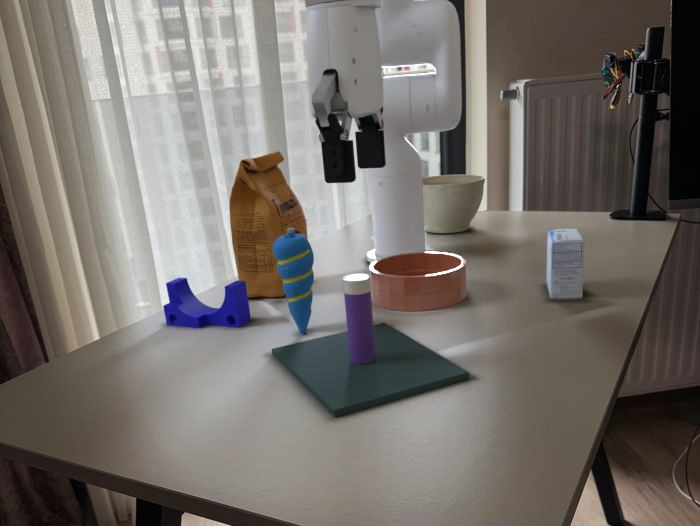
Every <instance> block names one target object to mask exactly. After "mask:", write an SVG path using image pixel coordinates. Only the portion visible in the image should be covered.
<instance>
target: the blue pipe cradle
mask: <svg viewBox="0 0 700 526" xmlns="http://www.w3.org/2000/svg"><path fill="white" fill-rule="evenodd" d="M165 286H166V291H167V296H168V300H169V302H168V303H166V304H164V305H162V307H163V308H162V309H163V312H164V313H163V314H164V318H165V322H166V326H173V327H175V326H176V327H185V328H197V329H200V328H202V327H204V326H205V325H208V326H221V327H230V328H231V327H233V328H242V326H245V325H246V324H248V323H249V322H251V321H252V316H251V311H250V303H249V298H248V296H247V289H246V282H245V281H239V280H234V281H232V282H230V283H229V284H227V285H225V286H224V298H223V301H222V304H221V306H220V307H212V306H208V305H207V304H205V303H204V302H202V301H200V300H199V298H197V296H196V295H195V294H194V292H193V290H192V289H191V287H190V285H189V281H188V278H187V277H177V278H175V279H172V280H170V281H168V282H166V283H165Z"/></svg>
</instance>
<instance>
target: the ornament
mask: <svg viewBox="0 0 700 526" xmlns="http://www.w3.org/2000/svg"><path fill="white" fill-rule="evenodd" d="M290 225H291V224H290ZM287 233H288V234H287V235H282V236H280V237H278V238H277V239H276V240H275V242H274V244H273V253H274V256H275V258H276V259H277V261H278V264H277V270H278V272H279V275H280V276H281V278H282V280H283V289H284V292H285V297H286V298H287V307H288V308H287V309H288V311H289V313H290V315H291V317H292V319H293V321H294V322H295V325H296V328H297V329H298V331H299V333H300V334H301V335H304V334H306V331H307V329H308V327H309V322H310V319H311V315H312V303H313V296H314V294H313V289H312V287H313V283H314V280H315V274H314V270H313V266H314V262H315V256H314V251H313V248H312V245H311V243H310V241H309V239H308V240H307V238H306V237H305V236H304V235H303V234H294V228H290V227H289V228H287Z"/></svg>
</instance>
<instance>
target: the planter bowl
mask: <svg viewBox="0 0 700 526" xmlns="http://www.w3.org/2000/svg"><path fill="white" fill-rule="evenodd" d="M485 182H486V177H485V176H483V175H480V174H443V175H442V174H441V175H432V176H424V177H423V198H424V224H425V232H428V233H434V234H453V233H459V232H466V231H467V230H469V228H470V225H471V222H472V220H473V219H474V218H475V216H476V214H477V213H478V211H479V209H480V207H481V203H482V200H483V196H484V188H485V187H484V185H485Z"/></svg>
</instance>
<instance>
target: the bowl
mask: <svg viewBox="0 0 700 526" xmlns="http://www.w3.org/2000/svg"><path fill="white" fill-rule="evenodd" d="M368 272H369V273H368V275H369V276H370V281H371V301H372V304H373V305H376V306H378V307H379V308H383V309H386V310H391V311H398V312H399V311H400V312H425V311H434V310H439V309H444V308H448V307H451V306H454V305H456V304H459V303H461V302H462V301H463V300H465V299H466V298H467V295H468V294H467V293H468V291H467V290H468V289H467V288H468V287H467V286H468V285H467V259H465V258H464V257H463V256H461V255H457V254H455V253H448V252H440V251H434V252H413V253H404V254H397V255H392V256H388V257H385V258H382V259H379V260H377V261H375V262H373V263H370V264H369V266H368Z"/></svg>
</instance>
